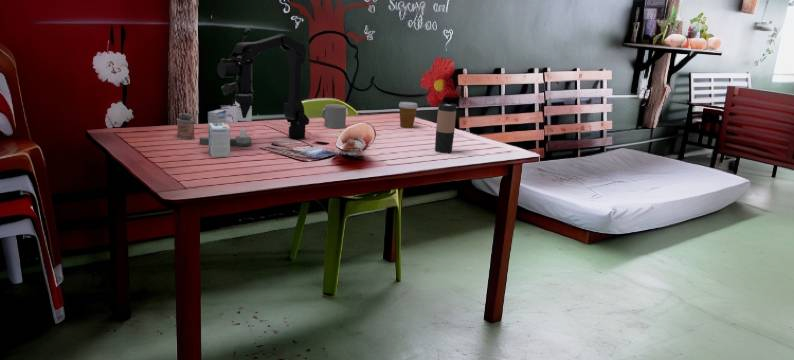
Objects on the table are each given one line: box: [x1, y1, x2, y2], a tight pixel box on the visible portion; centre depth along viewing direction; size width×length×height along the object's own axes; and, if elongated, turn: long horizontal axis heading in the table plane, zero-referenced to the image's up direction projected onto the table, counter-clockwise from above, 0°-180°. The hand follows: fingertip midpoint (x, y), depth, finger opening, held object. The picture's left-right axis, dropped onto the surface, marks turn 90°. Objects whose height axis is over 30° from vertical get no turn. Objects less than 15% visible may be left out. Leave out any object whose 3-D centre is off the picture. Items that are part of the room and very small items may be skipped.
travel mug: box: [434, 102, 458, 154], centre depth 251 cm, size 8×8×20 cm
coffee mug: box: [321, 103, 347, 130], centre depth 288 cm, size 13×10×10 cm
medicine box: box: [207, 109, 227, 131], centre depth 260 cm, size 8×4×9 cm, turn 168°
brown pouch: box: [176, 112, 196, 140], centre depth 243 cm, size 8×3×10 cm, turn 68°
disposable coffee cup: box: [398, 101, 419, 129], centre depth 298 cm, size 10×10×12 cm
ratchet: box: [198, 129, 253, 148], centre depth 237 cm, size 20×6×6 cm, turn 102°
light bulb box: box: [208, 122, 231, 158], centre depth 222 cm, size 11×7×11 cm, turn 23°
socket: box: [236, 105, 253, 122], centre depth 236 cm, size 6×6×5 cm
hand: (244, 116), depth 236 cm, fingers closed on socket, 6 cm apart
